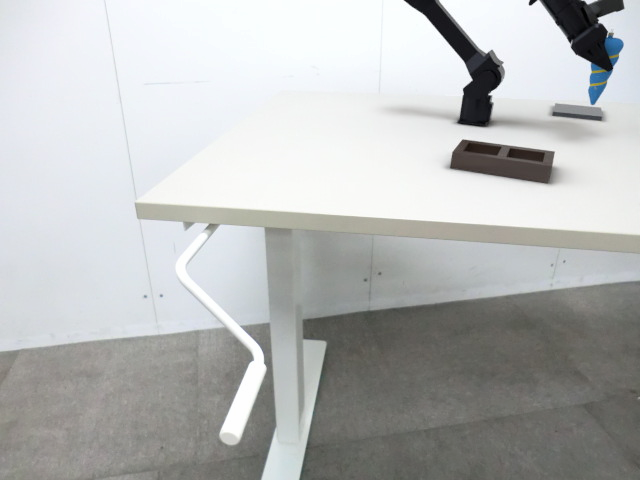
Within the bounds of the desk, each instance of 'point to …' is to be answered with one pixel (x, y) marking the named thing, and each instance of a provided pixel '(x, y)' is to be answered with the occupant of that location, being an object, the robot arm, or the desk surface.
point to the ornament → (600, 75)
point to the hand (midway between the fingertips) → (609, 68)
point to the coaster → (577, 111)
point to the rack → (503, 160)
